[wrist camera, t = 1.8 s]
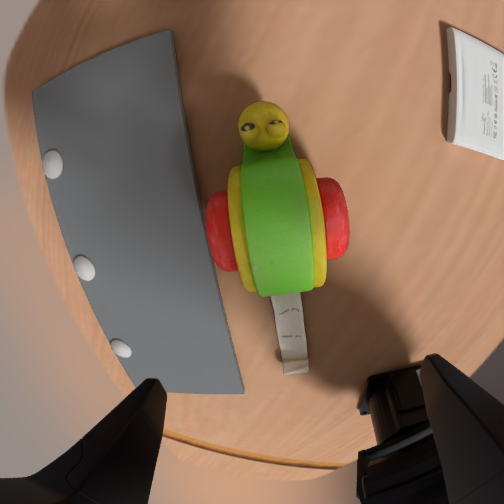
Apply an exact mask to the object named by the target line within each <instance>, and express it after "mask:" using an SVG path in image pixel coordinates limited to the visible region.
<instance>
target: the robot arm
mask: <svg viewBox="0 0 504 504" xmlns="http://www.w3.org/2000/svg"><path fill="white" fill-rule="evenodd" d="M166 403H167V393H166V391H165V389H164V387H163V386H162V384H161V382H160V380H159V379H157V378H146V379H145V380H144V381H143V382H142V383H141V384H140V385H139V386H138V387H137V388H135V389H134V390H133V391H132V392H131V393H130V394H129V395H128V396H127V397H126V398H125V399H124V400H123V401H122V402H120V403H119V404H118V405H117V406H116V407H115V408H114V409H113V410H112V411H111V412H110V413H109V414H108V415H106V416H105V417H104V418H103V419H102V420H101V421H100V422H99V423H98V424H97V425H96V426H94V427H93V428H92V429H91V430H90V431H89V432H88V433H87V434H86V435H85V436H84V437H83V438H82V439H80V440H79V441H78V442H77V443H76V444H75V445H73V446H72V447H71V448H70V449H69V450H68V451H66V452H65V453H64V454H62V455H61V456H60V457H58V458H57V459H56V460H54V461H53V462H52V463H50V464H49V465H47V466H46V467H44V468H43V469H42V470H40V471H39V472H37V473H35V474H33V475H31V476H28V477H22V478H0V504H148V499H149V495H150V489H151V485H152V480H153V476H154V470H155V466H156V462H157V457H158V453H159V449H160V444H161V440H162V435H163V428H164V419H165V411H166ZM368 414H371V419H372V423H373V427H374V432H375V436H376V441H377V446H374V447H372V448H369V449H366V450H362V451H359V452H358V460H357V493H356V496H357V498H358V499H360V501H361V504H504V405H503V404H502V403H501V402H499V401H498V400H497V399H496V398H494V397H493V396H492V395H491V394H490V393H488V392H487V391H486V390H484V389H483V388H482V387H480V386H479V385H478V384H477V383H475V382H474V381H473V380H472V379H470V378H469V377H468V376H466V375H465V374H464V373H462V372H461V371H460V370H458V369H457V368H456V367H455V366H453V365H452V364H451V363H449V362H448V361H447V360H445V359H444V358H443V357H441V356H440V355H439V354H436V353H434V354H430V355H427V356H426V357H425V359H424V361H423V364H422V365H421V366H417V367H413V368H409V369H404V370H400V371H395V372H390V373H385V374H380V375H375V376H371V377H369V378H368V379H367V383H366V387H365V391H364V395H363V399H362V403H361V407H360V415H368Z"/></svg>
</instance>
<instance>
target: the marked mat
mask: <svg viewBox="0 0 504 504" xmlns="http://www.w3.org/2000/svg"><path fill="white" fill-rule="evenodd" d="M32 98H33V108H34V116H35V123H36V130H37V136H38V142H39V148H40V153H41V158H42V166H43V171H44V173H45V176H46V180H47V184H48V188H49V192H50V196H51V199H52V203H53V206H54V210H55V213H56V216H57V220H58V223H59V226H60V229H61V232H62V235H63V238H64V241H65V244H66V247H67V249H68V252H69V255H70V257H71V260H72V263H73V266H74V270H75V272H76V274H77V275H78V278H79V280H80V282H81V285H82V287H83V289H84V292H85V294H86V296H87V298H88V301H89V303H90V305H91V307H92V309H93V311H94V314H95V316H96V318H97V320H98V322H99V324H100V326H101V328H102V330H103V332H104V334H105V335H106V337H107V339H108V341H109V343H110V345H111V348H112V350H113V351H114V352H115V354H116V356H117V357H118V359H119V361H120V363H121V364H122V366H123V368H124V369H125V371H126V373H127V374H128V376H129V378H130V379H131V381H132V383H133V384H134V386H135V387H136V388H137V387H138V386H139V385H140V384H141V383H142V382H143V381H144V380H145V379H146V378H157V379H159V380H160V382H161V384H162V386H163V387H164V389H165V391H166V392H173V393H192V394H244V390H245V388H244V385H243V381H242V377H241V374H240V370H239V366H238V362H237V358H236V354H235V351H234V347H233V343H232V339H231V335H230V331H229V327H228V323H227V319H226V314H225V310H224V306H223V302H222V298H221V293H220V289H219V285H218V280H217V276H216V272H215V267H214V263H213V258H212V255H211V251H210V248H209V244H208V238H207V233H206V225H205V221H204V216H203V211H202V206H201V201H200V196H199V191H198V186H197V180H196V175H195V170H194V164H193V159H192V153H191V148H190V142H189V136H188V131H187V125H186V119H185V113H184V106H183V100H182V94H181V87H180V81H179V74H178V67H177V60H176V52H175V45H174V37H173V32H172V31H171V30H170V29H169V30H166V31H162V32H159V33H156V34H153V35H150V36H147V37H144V38H141V39H138V40H135V41H133V42H130V43H127V44H125V45H122V46H120V47H117V48H115V49H112V50H110V51H108V52H105V53H103V54H101V55H99V56H96V57H94V58H92V59H90V60H88V61H86V62H84V63H82V64H80V65H78V66H76V67H74V68H72V69H70V70H68V71H66V72H64V73H63V74H61V75H59V76H57V77H55V78H54V79H52V80H50V81H49V82H47V83H45V84H44V85H42V86H40V87H39V88H37V89H36V90H34V91H32Z"/></svg>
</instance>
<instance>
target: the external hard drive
mask: <svg viewBox="0 0 504 504" xmlns="http://www.w3.org/2000/svg"><path fill="white" fill-rule="evenodd" d="M446 33H447V44H448V60H449V73H450V74H451V92H450V93H449V110H448V127H447V139H446V142H448V143H452V144H455V145H459V146H462V147H466V148H469V149H472V150H475V151H478V152H481V153H484V154H487V155H490V156H493V157H496V158H499V159H501V160H504V54H503V53H501V52H499V51H498V50H496V49H494V48H492V47H491V46H489V45H487V44H485V43H483V42H481V41H480V40H478V39H476V38H474V37H472V36H470V35H468V34H466V33H464V32H462V31H460V30H457V29H455V28H453V27H450V28H448V29H446Z"/></svg>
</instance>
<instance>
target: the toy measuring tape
mask: <svg viewBox="0 0 504 504" xmlns="http://www.w3.org/2000/svg"><path fill="white" fill-rule="evenodd" d="M238 131H239V135H240V137H241V139H242V140H243V163H242V165H239V166H235V167H232V169H231V171H230V174H229V177H228V190H221V191H217V192H215V193H214V194H213V195H212V196H211V197H210V198H209V200H208V202H207V208H206V233H207V238H208V244H209V248H210V251H211V255H212V257H213V259H214V261H215V263H216V265H217V266H218V267H219V268H220V269H222V270H225V271H228V272H230V271H237V270H238V271H239V274H240V277H241V280H242V283H243V286H244V288H245V289H246V290H247V291H249V292H256V291H258V294H259V295H260V296H261V297H266V296H271V301H272V306H273V310H274V313H275V325H276V329H277V336H278V341H279V345H280V349H281V356H282V360H283V373H284V374H297V373H308V372H309V360H308V352H307V340H306V335H305V327H304V316H303V307H302V300H301V292H304V291H310V290H312V289H313V288H314V287H320V286H322V285H323V284H324V283H325V280H326V272H327V260H328V259H336V258H339V257H341V256H342V255H344V253H345V252H346V250H347V248H348V244H349V235H350V231H349V218H348V210H347V206H346V201H345V197H344V194H343V191H342V189H341V187H340V185H339V184H338V182H337V181H335V180H334V179H332V178H316V177H315V174H314V171H313V168H312V166H311V164H310V162H309V161H308V160H307V159H297V158H296V156H295V154H294V151H293V148H292V145H291V141H290V137H289V135H288V133H289V122H288V118H287V115H286V114H285V112H284V111H283V110H282V109H281V108H280V107H279V106H277V105H276V104H274V103H271V102H266V101H259V102H255V103H253V104H251V105H249V106H247V107H246V108H245V109H244V110H243V112H242V113H241V115H240V117H239V121H238Z"/></svg>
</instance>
